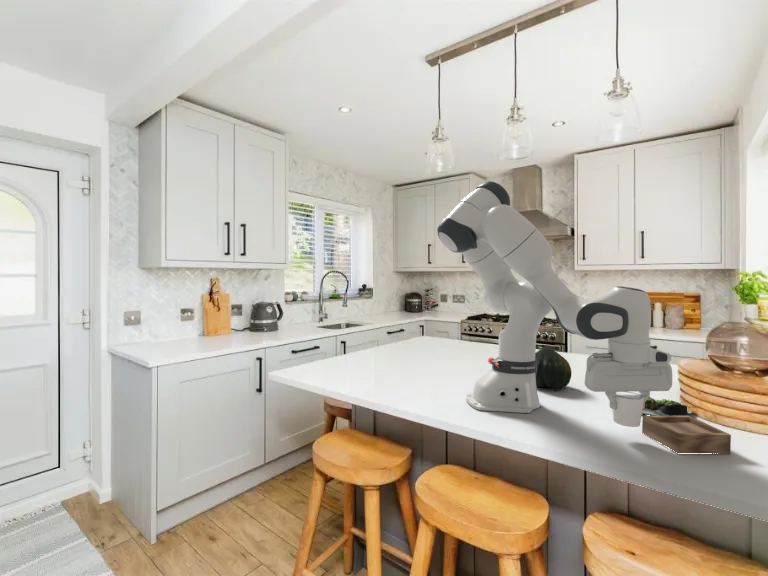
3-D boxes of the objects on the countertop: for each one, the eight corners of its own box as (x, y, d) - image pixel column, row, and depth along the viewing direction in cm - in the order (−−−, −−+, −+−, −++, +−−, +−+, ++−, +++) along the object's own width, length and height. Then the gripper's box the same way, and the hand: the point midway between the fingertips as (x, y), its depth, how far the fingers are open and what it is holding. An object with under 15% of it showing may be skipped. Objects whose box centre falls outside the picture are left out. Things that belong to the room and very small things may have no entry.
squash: (554, 380, 130) (567, 343, 136) (514, 373, 142) (528, 339, 148) (569, 402, 137) (581, 366, 143) (530, 394, 148) (543, 360, 155)
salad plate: (606, 410, 118) (607, 395, 118) (621, 397, 131) (621, 383, 131) (687, 428, 105) (688, 411, 105) (694, 411, 118) (695, 396, 118)
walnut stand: (678, 454, 88) (678, 435, 88) (642, 433, 100) (642, 415, 100) (730, 454, 89) (730, 434, 89) (688, 432, 101) (688, 415, 101)
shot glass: (626, 429, 93) (627, 399, 92) (604, 418, 99) (604, 391, 99) (650, 426, 94) (651, 397, 94) (626, 416, 101) (627, 389, 101)
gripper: (594, 355, 92) (593, 413, 93) (678, 355, 93) (676, 412, 94) (580, 350, 99) (578, 404, 99) (658, 349, 100) (656, 403, 100)
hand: (626, 408), depth 97 cm, fingers closed on shot glass, 5 cm apart
